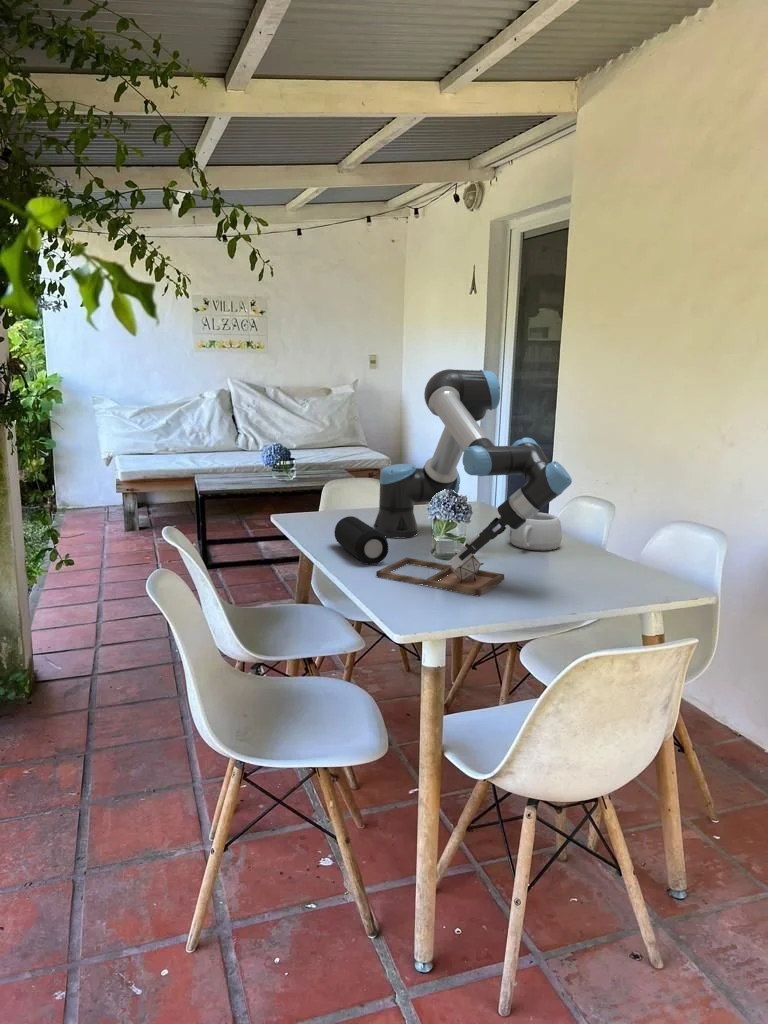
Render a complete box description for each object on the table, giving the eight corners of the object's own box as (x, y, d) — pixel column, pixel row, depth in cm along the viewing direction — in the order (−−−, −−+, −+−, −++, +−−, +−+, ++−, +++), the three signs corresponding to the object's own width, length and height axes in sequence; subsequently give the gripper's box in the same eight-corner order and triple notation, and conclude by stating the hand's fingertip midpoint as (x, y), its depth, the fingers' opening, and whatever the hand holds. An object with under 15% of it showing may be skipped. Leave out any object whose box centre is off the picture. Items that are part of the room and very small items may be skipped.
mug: (517, 537, 257) (519, 508, 255) (566, 544, 249) (569, 514, 247) (497, 550, 238) (499, 519, 236) (549, 558, 230) (551, 526, 228)
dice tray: (376, 576, 204) (376, 571, 204) (406, 562, 220) (406, 557, 219) (479, 596, 190) (479, 590, 190) (503, 579, 206) (504, 574, 205)
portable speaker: (390, 565, 216) (391, 531, 214) (358, 568, 213) (358, 533, 211) (361, 544, 239) (362, 514, 237) (331, 546, 236) (332, 515, 234)
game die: (470, 595, 202) (487, 572, 195) (441, 584, 201) (457, 560, 194) (473, 572, 208) (489, 549, 202) (445, 560, 207) (460, 537, 201)
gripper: (520, 530, 182) (456, 582, 189) (533, 511, 205) (476, 558, 212) (499, 506, 182) (436, 559, 190) (515, 491, 205) (459, 538, 213)
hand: (457, 559), depth 201 cm, fingers open, 13 cm apart
